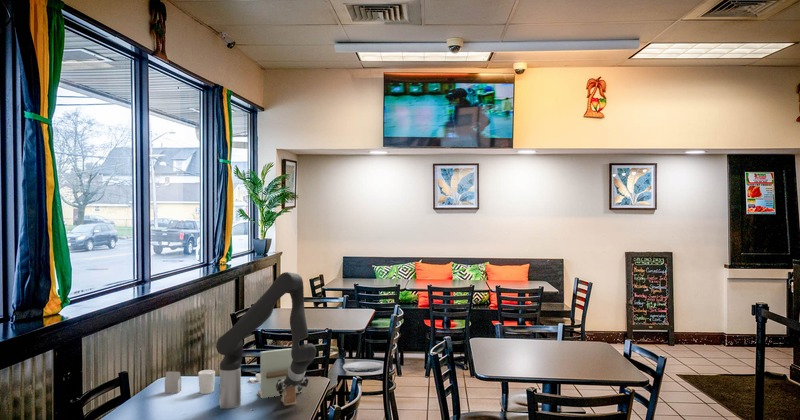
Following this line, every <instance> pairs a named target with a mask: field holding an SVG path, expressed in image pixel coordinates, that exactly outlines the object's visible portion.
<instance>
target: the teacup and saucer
mask: <svg viewBox="0 0 800 420" xmlns="http://www.w3.org/2000/svg"><path fill="white" fill-rule="evenodd" d="M248 381H249V382H251V383H252V384H256V383H259V384H261V372H259V373H256V374H255V377H250V378H248Z"/></svg>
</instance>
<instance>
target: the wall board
mask: <svg viewBox="0 0 800 420" xmlns="http://www.w3.org/2000/svg"><path fill="white" fill-rule="evenodd" d="M291 350H292V347H291V348H289V347H288V348H282V349H281V348H280V349H274V350H273V349H272V350H265V351H260V353H259V354H260V358H259V359H260V361H259V362H260V363H259V364H260V365H259V366H260V373H261V381H260V382H261V383H260V390H258V391H257V394H259V395H258V396H259V397H260V399H261V398H262V399H268V397H269V398H274V396H275V397H280V394H279V391H277V389H276V384H277V382H278V380H279V379H281V380H282V379H286V376H287V373H288V370H289V367H290V365H291V363H292V360H293V359H292V357H291ZM282 387H283V386H282ZM297 388H298V386H296V394H301V393H300V392H302V393H303V389H302V390H301V391H300V392H298V389H297ZM282 396H283V393H282Z"/></svg>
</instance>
